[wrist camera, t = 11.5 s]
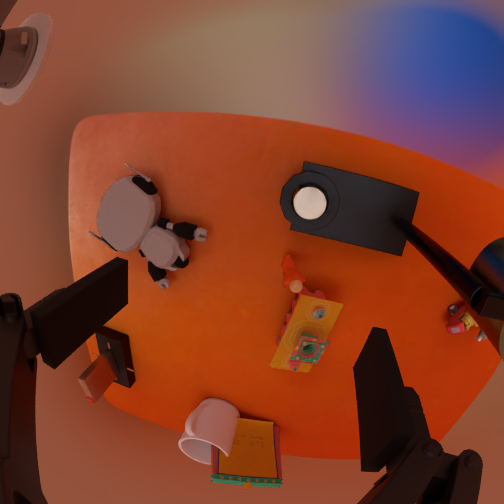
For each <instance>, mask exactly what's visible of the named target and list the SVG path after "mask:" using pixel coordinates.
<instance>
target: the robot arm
mask: <svg viewBox="0 0 504 504" xmlns="http://www.w3.org/2000/svg"><path fill="white" fill-rule="evenodd" d="M16 2H17V0H0V28H1V26H2V24H3V22H4V21H5V19H6V17H7V16H8V14H9V13H10V11H11V9H12V8H13V6H14V5H15V3H16ZM37 45H38V32H37V30H36V29H35V28H33V27H29V26H24V27H18V28H12V29H8V30H2V29H0V87H1V88H5V89H12V88H14V87H16V86H17V85H18V84H19V83H20V82H21V81H22V79H23V78H24V77H25V75H26V73H27V72H28V70H29V68H30V66H31V64H32V61H33V59H34V56H35V53H36V49H37ZM127 304H128V260H125V259H122V258H119V257H116V258H114V259H113V260H111V261H109V262H108V263H106V264H104V265H103V266H101V267H99V268H98V269H96V270H94V271H93V272H91V273H89V274H88V275H86V276H85V277H83V278H81V279H80V280H78V281H76V282H75V283H73V284H72V285H70V286H69V287H67V288H62V289H58V290H55V291H54V292H52V293H51V294H49V295H48V296H46V297H44V298H43V299H42V300H40V301H38V302H37V303H35V304H34V305H32V306H31V307H29V308H28V309H26V310H24V311H23V306H22V302H21V298H20V297H19V295H17V294H15V293H6V294H4V295H1V296H0V504H48V503H47V501H46V499H45V497H44V495H43V493H42V489H41V484H40V477H39V469H38V460H37V447H36V426H35V395H36V394H35V393H36V374H37V358H36V356H37V355H38V354H39V353H41V356H42V359H43V362H44V363H46V364H47V365H49V366H50V367H51V368H53V369H56V368H57V367H58V366H59V365H60V364H61V363H62V362H63V361H64V360H65V359H66V358H67V357H69V356H70V355H71V354H72V353H73V352H74V351H75V350H76V349H77V348H78V347H80V346H81V345H82V344H83V343H84V342H85V341H86V340H87V339H88V338H89V337H91V336H92V335H93V334H94V333H95V332H96V331H97V330H98V329H100V328H101V327H102V326H103V325H104V324H105V323H106V322H107V321H109V320H110V319H111V318H112V317H113V316H114V315H115V314H117V313H118V312H119V311H120V310H121V309H122V308H123V307H125V306H126V305H127ZM353 370H354V379H355V388H356V398H357V409H358V421H359V436H360V454H361V471H364V472H379V471H380V470H381V469H382V468H383V467H384V466H385V465H386V470H387V473H386V474H385V475H384V476H382V477H381V478H380V479H379V480H378V481H377V482H375V483H374V485H375V486H374V487H373V488H372V489H371V490H370V491H369V492H368V493H367V494H366V495H365V496H364V497H363V498H362V499H361V500H360V501H359V502H358V503H357V504H415V503H416V504H477V501H478V495H479V490H480V483H481V476H482V468H483V463H482V459H481V457H480V455H479V454H478V453H477V452H475V451H473V450H470V449H468V450H464V451H463V452H462V453H461V454H460V455H459V456H455V455H452V454H448V453H445V452H444V451H443V448H442V446H441V444H439V443H438V442H437V441H436V440H434V439H432V438H430V434H429V430H428V426H427V423H426V419H425V415H424V414H423V409H422V406H421V402H420V399H419V396H418V394H417V393H416V392H415V390H414V389H413V388H412V387H404V384H403V380H402V377H401V373H400V370H399V367H398V364H397V360H396V357H395V354H394V351H393V348H392V345H391V342H390V339H389V336H388V333H387V330H386V329H382V328H377V327H373V328H372V330H371V332H370V334H369V336H368V339H367V341H366V343H365V345H364V347H363V349H362V351H361V353H360V355H359V357H358V359H357V361H356V363H355V365H354V367H353Z"/></svg>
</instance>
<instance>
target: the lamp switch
mask: <svg viewBox="0 0 504 504" xmlns="http://www.w3.org/2000/svg"><path fill="white" fill-rule="evenodd" d="M293 205H294V209H295V211H296V213H297V214H298V215H299V216H300V217H302V218H304V219H308V220H312V219H316V218H318V217H320V216H321V215H322V214H323V213H324V211H325V209H326V198H325V195H324V193H323V192H322V190H321V189H319V188H318V187H316V186H313V185H307V186H304V187H302V188H300V189H299V190H298V191H297V193H296V195H295V197H294V201H293Z"/></svg>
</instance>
